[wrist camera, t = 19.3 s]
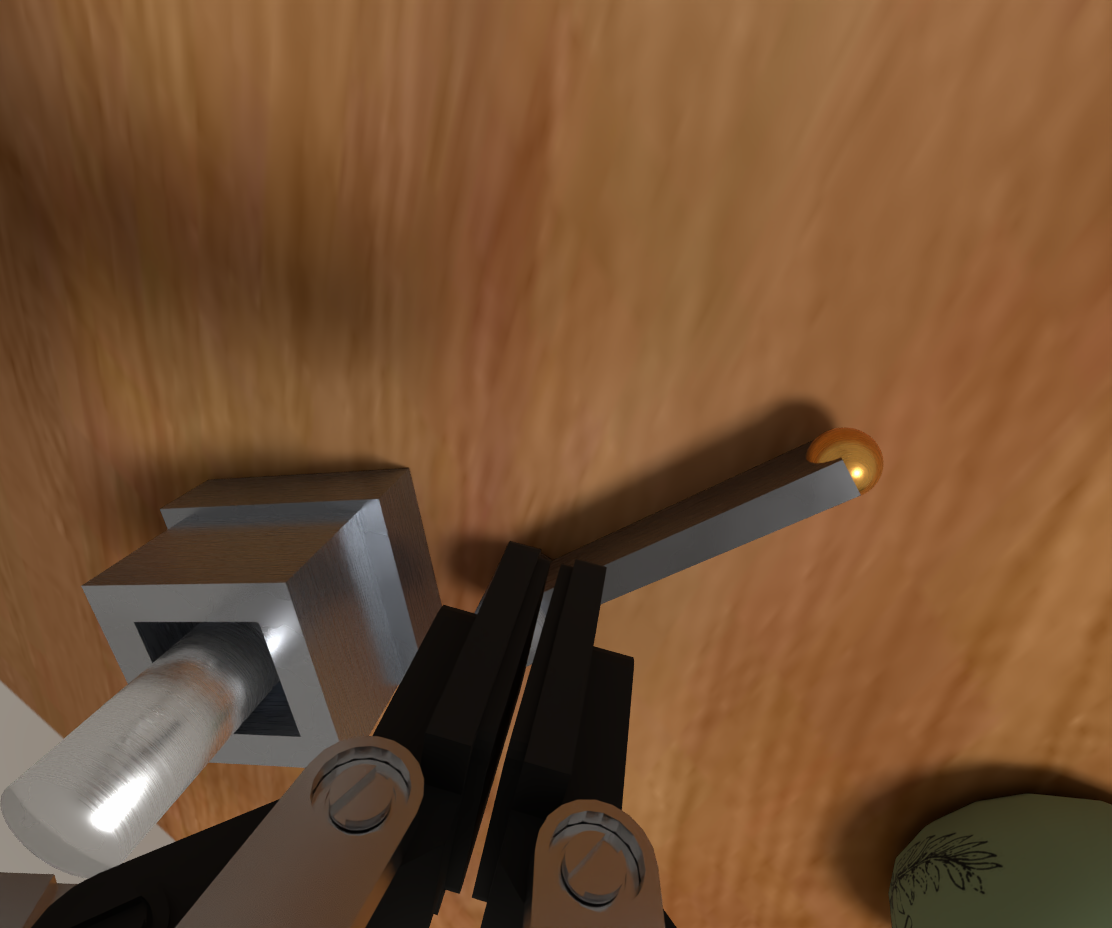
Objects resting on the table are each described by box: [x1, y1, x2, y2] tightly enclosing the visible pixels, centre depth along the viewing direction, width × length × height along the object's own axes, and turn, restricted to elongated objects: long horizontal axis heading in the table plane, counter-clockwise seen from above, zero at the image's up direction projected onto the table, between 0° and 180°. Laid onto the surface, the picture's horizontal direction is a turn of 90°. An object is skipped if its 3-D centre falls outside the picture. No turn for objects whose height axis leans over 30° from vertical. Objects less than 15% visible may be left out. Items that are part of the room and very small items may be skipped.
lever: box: [475, 428, 883, 666], centre depth 24 cm, size 16×3×4 cm, turn 123°
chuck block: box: [82, 468, 442, 768], centre depth 26 cm, size 9×10×8 cm
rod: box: [1, 622, 280, 878], centre depth 22 cm, size 4×4×11 cm
